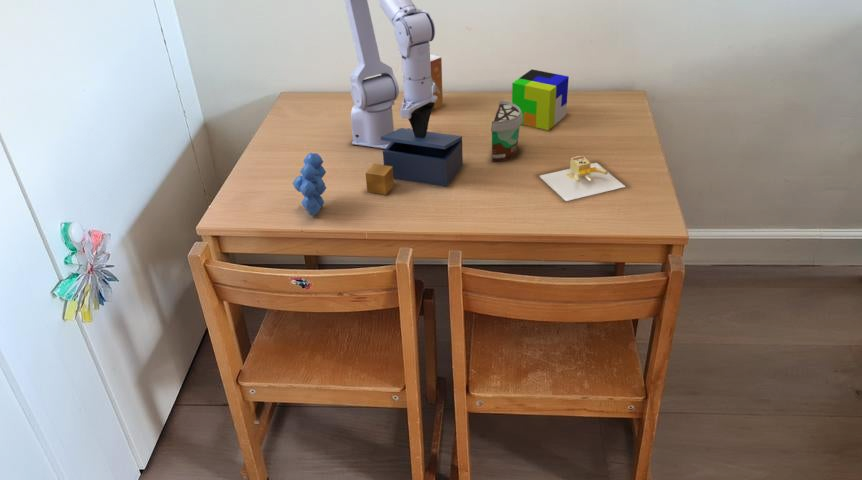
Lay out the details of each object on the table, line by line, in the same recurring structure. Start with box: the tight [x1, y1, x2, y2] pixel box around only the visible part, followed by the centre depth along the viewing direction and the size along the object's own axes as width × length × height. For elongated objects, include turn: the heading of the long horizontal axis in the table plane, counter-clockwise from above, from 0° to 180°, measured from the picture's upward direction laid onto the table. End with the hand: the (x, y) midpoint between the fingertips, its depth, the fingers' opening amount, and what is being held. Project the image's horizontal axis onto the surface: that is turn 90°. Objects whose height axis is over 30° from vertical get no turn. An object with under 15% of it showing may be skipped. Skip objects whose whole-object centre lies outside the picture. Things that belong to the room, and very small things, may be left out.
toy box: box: [382, 139, 464, 188], centre depth 168 cm, size 10×15×6 cm
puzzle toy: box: [511, 69, 569, 131], centre depth 187 cm, size 10×10×10 cm
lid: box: [381, 127, 463, 149], centre depth 164 cm, size 11×15×1 cm
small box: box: [401, 52, 444, 110], centre depth 193 cm, size 8×6×13 cm
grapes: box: [291, 152, 327, 217], centre depth 154 cm, size 12×7×12 cm, turn 174°
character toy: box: [568, 154, 609, 183], centre depth 163 cm, size 8×3×8 cm
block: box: [365, 163, 395, 196], centre depth 162 cm, size 4×4×5 cm
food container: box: [490, 100, 523, 162], centre depth 172 cm, size 12×6×10 cm, turn 169°
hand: (420, 136), depth 163 cm, fingers closed
